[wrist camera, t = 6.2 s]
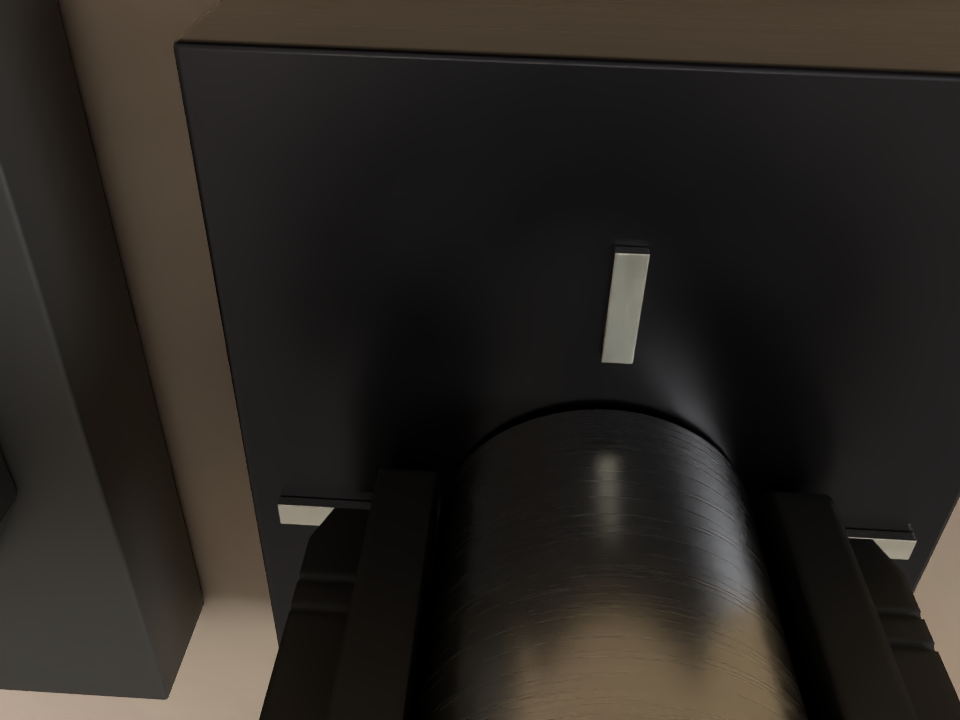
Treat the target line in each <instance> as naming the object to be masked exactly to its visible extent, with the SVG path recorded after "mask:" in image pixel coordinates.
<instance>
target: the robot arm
mask: <svg viewBox="0 0 960 720" xmlns="http://www.w3.org/2000/svg"><path fill="white" fill-rule="evenodd" d="M754 522H755V525H756V529H757V533H758V536H759V540H760V544H761V547H762V551H763V555H764V559H765V562H766V566H767V570H768V573H769V577H770V581H771V584H772V588H773V592H774V595H775V599H776V603H777V606H778V610H779V614H780V618H781V621H782V625H783V629H784V632H785V636H786V640H787V643H788V647H789V651H790V654H791V658H792V662H793V666H794V669H795V673H796V677H797V680H798V684H799V688H800V691H801V695H802V699H803V702H804V706H805V710H806V713H807V717H808V720H960V701H959V699H958V696H957V694H956V692H955V689H954V687H953V685H952V682H951V680H950V678H949V676H948V673H947V671H946V669H945V666H944V664H943V662H942V659H941V657H940V655H939V653H938V652H936V651H935V650H934V644H935V643H934V641H933V639H932V637H931V634H930V632H929V630H928V627H927V625H926V623H925V620H924V619H921V617H920V612H921V611H920V609H919V607H918V604H917V602H916V600H915V597H914V595H913V593H912V591H911V588H910V586H909V584H908V581H907V579H906V577H905V574H904V573H903V572H902V571H901V570H900V568H899V567H898V566H897V565H896V564H895V563H894V562H893V561H892V560H891V559H890V558H889V557H888V556H887V554H886V553H885V552H884V551H883V550H882V549H881V548H880V547H879V546H878V545H877V544H876V543H875V541H874V540H873V539H860V538H848V535H847V533H846V530H845V528H844V525H843V522H842V520H841V517H840V515H839V512H838V509H837V507H836V505H835V502H834V501H833V499H832V498H831V497H830V496H829V495H827V494H814V493H797V492H779V491H766V492H765V493H764V494H763V496H762V498H761V500H760V503H759V506H758V509H757V513H756V516H755V519H754ZM436 535H437V472H436V471H420V470H402V469H384V468H380V469H379V471H378V474H377V478H376V482H375V487H374V492H373V497H372V501H371V506H370V510H369V509H352V508H334V509H333V510H332V511H331V512H330V514H329V515H328V516H327V517H326V518H325V520H324V521H323V522H322V523H321V524H320V526H319V527H318V528H317V529H316V530H315V532H314V533H313V534H312V535H311V536H310V538H309V541H308V544H307V548H306V552H305V555H304V559H303V563H302V566H301V570H300V573H299V581H297V584H296V588H295V592H294V595H293V599H292V602H291V611H290V612H289V613H288V617H287V621H286V624H285V628H284V631H283V635H282V639H281V642H280V646H279V650H278V653H277V657H276V660H275V664H274V668H273V671H272V675H271V678H270V682H269V686H268V689H267V693H266V697H265V700H264V704H263V707H262V711H261V715H260V718H259V720H413V718H414V710H415V702H416V694H417V686H418V678H419V670H420V663H421V655H422V647H423V639H424V631H425V623H426V615H427V607H428V599H429V591H430V583H431V575H432V567H433V559H434V551H435V543H436Z"/></svg>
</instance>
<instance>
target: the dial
mask: <svg viewBox="0 0 960 720" xmlns="http://www.w3.org/2000/svg"><path fill="white" fill-rule="evenodd" d="M413 720H808V717H807V713H806V710H805V706H804V702H803V699H802V695H801V691H800V688H799V684H798V680H797V677H796V673H795V669H794V666H793V662H792V658H791V654H790V651H789V647H788V643H787V640H786V636H785V632H784V629H783V625H782V621H781V618H780V614H779V610H778V606H777V603H776V599H775V595H774V592H773V588H772V584H771V581H770V577H769V573H768V570H767V566H766V562H765V559H764V555H763V551H762V547H761V544H760V540H759V536H758V533H757V529H756V525H755V522H754V518H753V514H752V511H751V507H750V503H749V500H748V496H747V493H746V489H745V487H744V485H743V483H742V481H741V479H740V477H739V475H738V473H737V472H736V470H735V469H734V468H733V466H732V465H731V464H730V462H729V461H728V460H727V459H726V458H725V457H724V456H723V455H722V454H721V453H720V452H719V451H718V450H717V449H716V448H715V447H714V446H712V445H711V444H709V443H708V442H707V441H705V440H704V439H703V438H701V437H700V436H698V435H696V434H695V433H693V432H691V431H689V430H687V429H686V428H684V427H682V426H679V425H677V424H674V423H672V422H669V421H667V420H664V419H661V418H657V417H654V416H650V415H646V414H643V413H637V412H631V411H624V410H613V409H581V410H571V411H564V412H557V413H552V414H548V415H544V416H541V417H537V418H533V419H530V420H528V421H525V422H522V423H520V424H517V425H514V426H512V427H510V428H508V429H507V430H505V431H503V432H501V433H499V434H497V435H495V436H494V437H492V438H491V439H489V440H488V441H486V442H485V443H483V444H482V445H481V446H479V447H478V448H477V449H476V450H475V451H474V452H473V453H472V454H470V455H469V456H468V457H467V458H466V460H465V461H464V462H463V463H462V464H461V466H460V467H459V468H458V469H457V470H456V472H455V473H454V475H453V477H452V478H451V480H450V482H449V483H448V485H447V487H446V490H445V493H444V495H443V498H442V502H441V507H440V512H439V519H438V527H437V535H436V543H435V551H434V559H433V567H432V575H431V583H430V591H429V599H428V607H427V615H426V623H425V631H424V639H423V647H422V655H421V663H420V670H419V678H418V686H417V694H416V702H415V710H414V718H413Z"/></svg>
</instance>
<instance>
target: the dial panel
mask: <svg viewBox="0 0 960 720" xmlns="http://www.w3.org/2000/svg"><path fill="white" fill-rule="evenodd" d="M173 48H174V54H175V59H176V65H177V71H178V76H179V82H180V88H181V93H182V99H183V105H184V110H185V116H186V122H187V127H188V133H189V139H190V145H191V150H192V156H193V162H194V167H195V173H196V179H197V184H198V190H199V196H200V201H201V207H202V213H203V218H204V224H205V230H206V235H207V241H208V247H209V253H210V258H211V264H212V270H213V275H214V281H215V287H216V292H217V298H218V304H219V309H220V315H221V321H222V326H223V332H224V338H225V344H226V349H227V355H228V361H229V366H230V372H231V378H232V383H233V389H234V395H235V400H236V406H237V412H238V417H239V423H240V429H241V434H242V440H243V446H244V452H245V457H246V463H247V469H248V474H249V480H250V486H251V491H252V497H253V503H254V508H255V514H256V520H257V525H258V531H259V537H260V543H261V548H262V554H263V560H264V565H265V571H266V577H267V582H268V588H269V594H270V599H271V605H272V611H273V616H274V622H275V628H276V633H277V639H278V645H279V646H280V642H281V639H282V635H283V631H284V628H285V624H286V621H287V617H288V613H289V612H290V611H291V602H292V599H293V595H294V592H295V588H296V584H297V581H299V573H300V570H301V566H302V563H303V559H304V555H305V552H306V548H307V544H308V541H309V538H310V536H311V535H312V534H313V533H314V532H315V530H316V529H317V528H318V527H319V526H320V524H321V523H322V522H323V521H324V520H325V518H326V517H327V516H328V515H329V514H330V512H331V511H332V510H333V509H334V508H352V509H369V510H370V506H371V501H372V497H373V492H374V487H375V482H376V478H377V474H378V471H379V469H380V468H384V469H402V470H420V471H436V472H437V527H438V519H439V512H440V507H441V502H442V498H443V495H444V493H445V490H446V487H447V485H448V483H449V482H450V480H451V478H452V477H453V475H454V473H455V472H456V470H457V469H458V468H459V467H460V466H461V464H462V463H463V462H464V461H465V460H466V458H467V457H468V456H469V455H470V454H472V453H473V452H474V451H475V450H476V449H477V448H478V447H479V446H481V445H482V444H483V443H485V442H486V441H488V440H489V439H491V438H492V437H494V436H495V435H497V434H499V433H501V432H503V431H505V430H507V429H508V428H510V427H512V426H514V425H517V424H520V423H522V422H525V421H528V420H530V419H533V418H537V417H541V416H544V415H548V414H552V413H557V412H564V411H571V410H581V409H613V410H624V411H631V412H637V413H643V414H646V415H650V416H654V417H657V418H661V419H664V420H667V421H669V422H672V423H674V424H677V425H679V426H682V427H684V428H686V429H687V430H689V431H691V432H693V433H695V434H696V435H698V436H700V437H701V438H703V439H704V440H705V441H707V442H708V443H709V444H711V445H712V446H714V447H715V448H716V449H717V450H718V451H719V452H720V453H721V454H722V455H723V456H724V457H725V458H726V459H727V460H728V461H729V462H730V464H731V465H732V466H733V468H734V469H735V470H736V472H737V473H738V475H739V477H740V479H741V481H742V483H743V485H744V487H745V489H746V493H747V496H748V500H749V503H750V507H751V511H752V514H753V518H754V519H755V516H756V513H757V509H758V506H759V503H760V500H761V498H762V496H763V494H764V493H765V492H766V491H779V492H797V493H814V494H827V495H829V496H830V497H831V498H832V499H833V501H834V502H835V505H836V507H837V509H838V512H839V515H840V517H841V520H842V522H843V525H844V528H845V530H846V533H847V535H848V538H860V539H873V540H874V541H875V543H876V544H877V545H878V546H879V547H880V548H881V549H882V550H883V551H884V552H885V553H886V554H887V556H888V557H889V558H890V559H891V560H892V561H893V562H894V563H895V564H896V565H897V566H898V567H899V568H900V570H901V571H902V572H903V573H904V574H905V577H906V579H907V581H908V584H909V586H910V588H911V591H912V593H914V591H915V589H916V587H917V584H918V582H919V580H920V578H921V576H922V574H923V572H924V570H925V568H926V566H927V564H928V562H929V559H930V557H931V555H932V553H933V551H934V549H935V547H936V545H937V543H938V541H939V539H940V537H941V534H942V532H943V530H944V528H945V526H946V524H947V522H948V520H949V518H950V516H951V514H952V511H953V509H954V507H955V505H956V503H957V501H958V499H959V497H960V0H221V1H220V2H219V3H218V4H216V5H215V6H214V7H213V8H212V9H211V10H209V11H208V12H207V13H206V14H205V15H204V16H203V17H201V18H200V19H199V20H198V21H197V22H196V23H194V24H193V25H192V26H191V27H190V28H189V29H188V30H186V31H185V32H184V33H183V34H182V35H181V36H180V37H178V38H177V39H176V40H175V41H174V46H173Z"/></svg>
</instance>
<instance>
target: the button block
mask: <svg viewBox="0 0 960 720" xmlns="http://www.w3.org/2000/svg"><path fill="white" fill-rule="evenodd" d="M203 605H204V601H203V597H202V593H201V589H200V585H199V581H198V577H197V573H196V569H195V564H194V560H193V556H192V552H191V548H190V544H189V540H188V536H187V532H186V528H185V524H184V520H183V515H182V511H181V507H180V503H179V499H178V495H177V491H176V487H175V483H174V479H173V475H172V471H171V466H170V462H169V458H168V454H167V450H166V446H165V442H164V438H163V434H162V430H161V426H160V422H159V417H158V413H157V409H156V405H155V401H154V397H153V393H152V389H151V385H150V381H149V377H148V373H147V368H146V364H145V360H144V356H143V352H142V348H141V344H140V340H139V336H138V332H137V328H136V324H135V320H134V315H133V311H132V307H131V303H130V299H129V295H128V291H127V287H126V283H125V279H124V275H123V271H122V266H121V262H120V258H119V254H118V250H117V246H116V242H115V238H114V234H113V230H112V226H111V222H110V217H109V213H108V209H107V205H106V201H105V197H104V193H103V189H102V185H101V181H100V177H99V173H98V168H97V164H96V160H95V156H94V152H93V148H92V144H91V140H90V136H89V132H88V128H87V124H86V119H85V115H84V111H83V107H82V103H81V99H80V95H79V91H78V87H77V83H76V79H75V75H74V71H73V66H72V62H71V58H70V54H69V50H68V46H67V42H66V38H65V34H64V30H63V26H62V22H61V17H60V13H59V9H58V5H57V1H56V0H0V689H5V690H21V691H37V692H52V693H68V694H84V695H99V696H115V697H130V698H146V699H162V700H165V699H167V698H168V697H169V694H170V691H171V689H172V686H173V683H174V681H175V678H176V676H177V673H178V670H179V668H180V665H181V662H182V660H183V657H184V655H185V652H186V649H187V647H188V644H189V641H190V639H191V636H192V634H193V631H194V628H195V626H196V623H197V620H198V618H199V615H200V613H201V610H202V607H203Z"/></svg>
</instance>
